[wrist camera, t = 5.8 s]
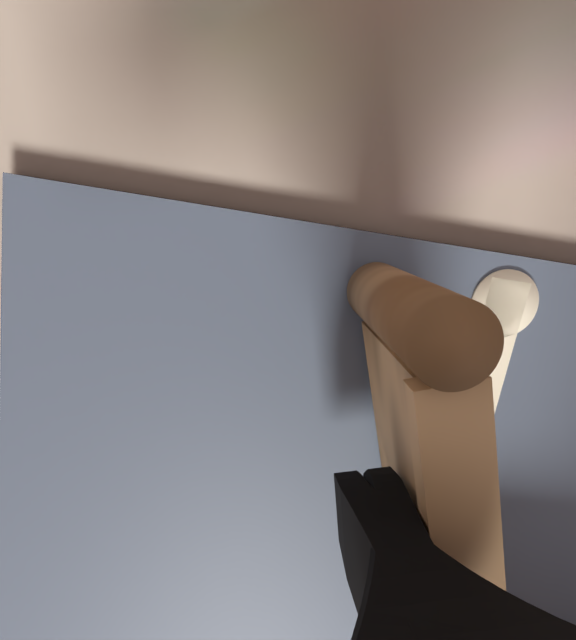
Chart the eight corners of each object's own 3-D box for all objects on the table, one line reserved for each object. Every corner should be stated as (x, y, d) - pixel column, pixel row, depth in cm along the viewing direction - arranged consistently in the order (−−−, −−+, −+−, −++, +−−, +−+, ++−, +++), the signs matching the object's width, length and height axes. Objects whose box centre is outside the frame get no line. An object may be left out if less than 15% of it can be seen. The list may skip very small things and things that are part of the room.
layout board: (905, 318, 15) (937, 323, 14) (723, 696, 18) (742, 714, 18) (15, 174, 12) (0, 172, 11) (5, 650, 16) (-6, 669, 15)
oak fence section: (438, 597, 15) (531, 797, 10) (392, 607, 15) (460, 812, 10) (400, 257, 12) (501, 290, 7) (342, 267, 12) (402, 308, 7)
